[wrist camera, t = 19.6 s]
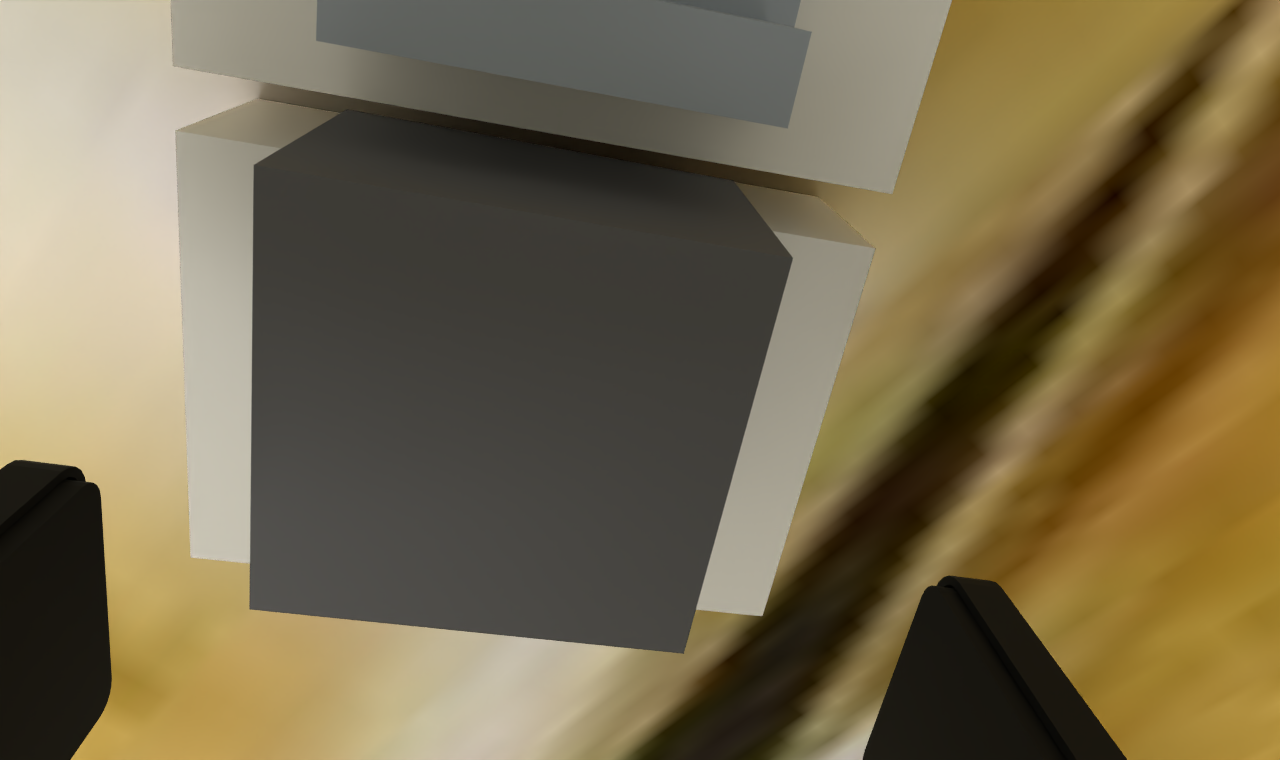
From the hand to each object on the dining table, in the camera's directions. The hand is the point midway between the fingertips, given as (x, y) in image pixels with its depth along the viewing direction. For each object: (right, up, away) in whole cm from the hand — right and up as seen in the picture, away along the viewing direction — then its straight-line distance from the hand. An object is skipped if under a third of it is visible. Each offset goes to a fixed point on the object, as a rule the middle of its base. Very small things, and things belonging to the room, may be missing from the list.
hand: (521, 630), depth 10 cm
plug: (-1, +5, +9) cm, 10 cm away
